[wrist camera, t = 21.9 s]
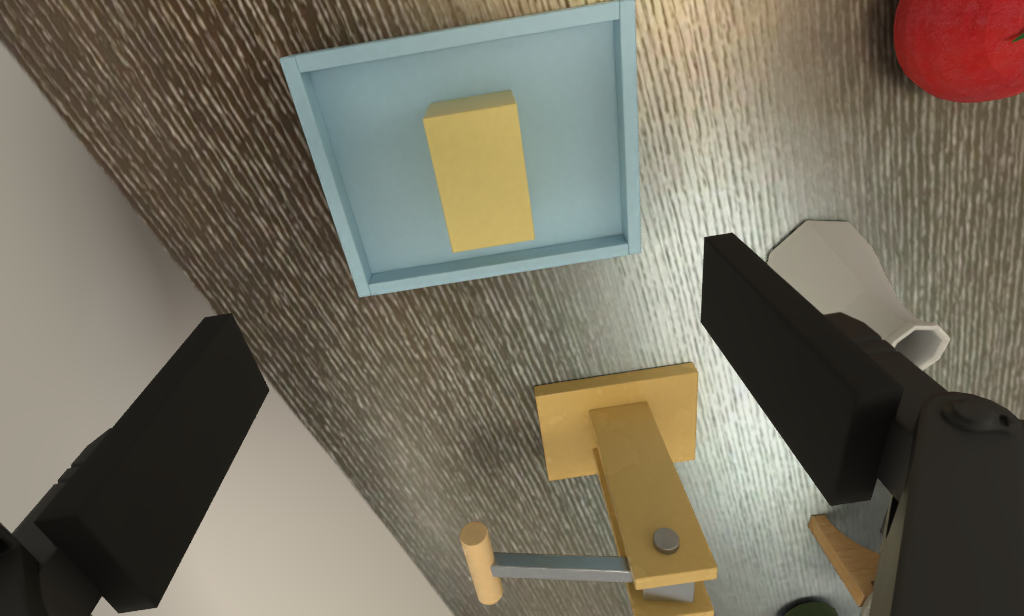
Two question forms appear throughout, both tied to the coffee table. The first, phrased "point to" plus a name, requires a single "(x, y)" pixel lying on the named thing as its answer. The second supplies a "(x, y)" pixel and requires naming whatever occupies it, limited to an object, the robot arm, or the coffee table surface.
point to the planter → (848, 560)
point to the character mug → (812, 610)
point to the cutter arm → (549, 568)
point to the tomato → (962, 47)
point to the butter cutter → (636, 472)
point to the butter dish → (544, 131)
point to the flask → (853, 286)
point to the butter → (480, 170)
